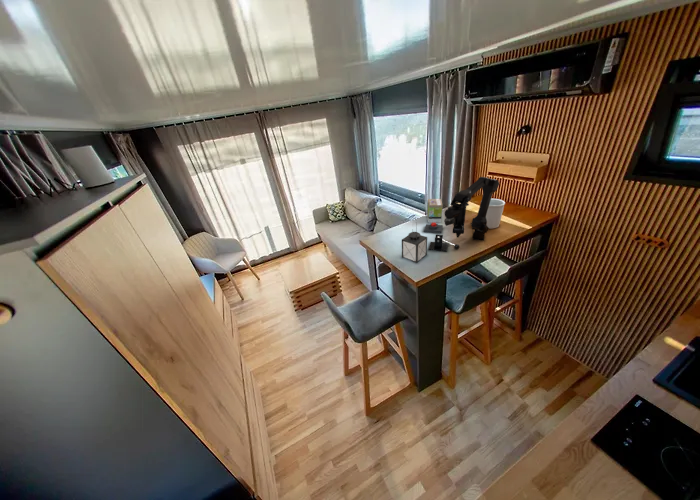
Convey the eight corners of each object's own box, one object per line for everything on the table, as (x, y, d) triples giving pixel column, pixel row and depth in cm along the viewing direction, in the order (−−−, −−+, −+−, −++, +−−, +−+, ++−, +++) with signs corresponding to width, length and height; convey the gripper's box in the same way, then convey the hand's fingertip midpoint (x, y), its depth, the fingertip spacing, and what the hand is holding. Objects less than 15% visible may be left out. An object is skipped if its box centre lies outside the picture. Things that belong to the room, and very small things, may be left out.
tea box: (441, 222, 195) (442, 204, 188) (428, 223, 198) (428, 205, 190) (439, 215, 208) (440, 197, 200) (426, 215, 210) (427, 198, 203)
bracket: (447, 244, 167) (448, 233, 162) (446, 252, 159) (447, 240, 155) (430, 243, 171) (431, 232, 167) (428, 250, 163) (428, 239, 159)
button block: (442, 227, 188) (442, 222, 186) (441, 233, 180) (441, 228, 178) (426, 226, 193) (426, 221, 191) (424, 232, 185) (424, 227, 183)
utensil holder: (485, 218, 192) (488, 196, 184) (504, 224, 181) (509, 201, 172) (473, 224, 186) (476, 202, 177) (492, 230, 175) (497, 207, 166)
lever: (458, 248, 161) (460, 244, 159) (457, 250, 159) (460, 247, 157) (435, 238, 164) (438, 234, 162) (435, 241, 162) (437, 237, 160)
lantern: (416, 263, 152) (417, 221, 138) (401, 257, 160) (401, 217, 145) (426, 255, 159) (428, 214, 144) (411, 250, 166) (412, 210, 152)
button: (436, 224, 185) (436, 222, 184) (435, 226, 183) (436, 224, 182) (431, 224, 187) (431, 222, 186) (430, 226, 184) (430, 224, 183)
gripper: (447, 207, 159) (445, 229, 166) (444, 219, 144) (442, 243, 152) (466, 208, 154) (463, 231, 162) (465, 220, 140) (462, 245, 148)
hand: (457, 237), depth 156 cm, fingers closed
